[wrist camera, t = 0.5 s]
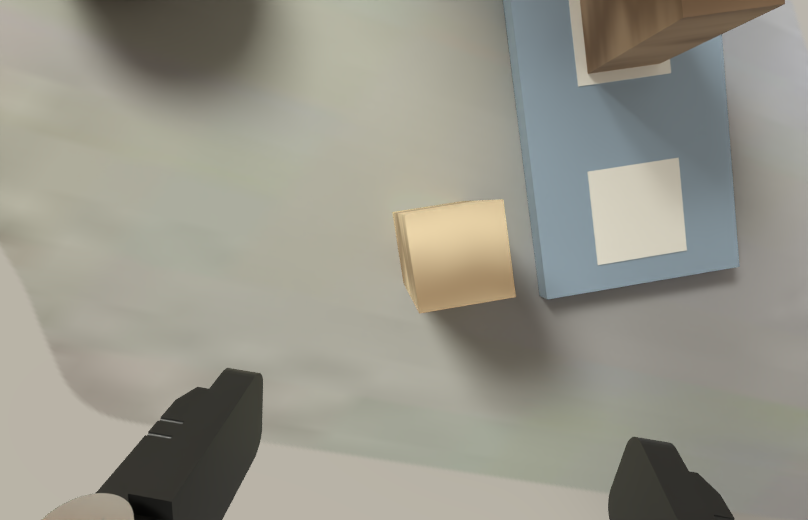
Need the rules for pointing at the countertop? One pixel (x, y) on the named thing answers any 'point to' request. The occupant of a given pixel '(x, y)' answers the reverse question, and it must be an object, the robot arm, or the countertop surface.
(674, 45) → the walnut pillar
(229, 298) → the countertop surface
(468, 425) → the countertop surface
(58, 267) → the countertop surface
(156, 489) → the robot arm
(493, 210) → the oak pillar
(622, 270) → the board
